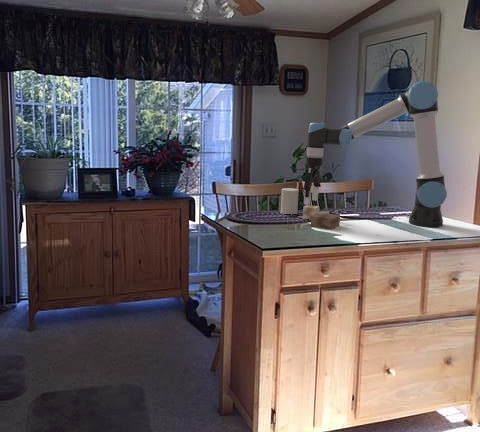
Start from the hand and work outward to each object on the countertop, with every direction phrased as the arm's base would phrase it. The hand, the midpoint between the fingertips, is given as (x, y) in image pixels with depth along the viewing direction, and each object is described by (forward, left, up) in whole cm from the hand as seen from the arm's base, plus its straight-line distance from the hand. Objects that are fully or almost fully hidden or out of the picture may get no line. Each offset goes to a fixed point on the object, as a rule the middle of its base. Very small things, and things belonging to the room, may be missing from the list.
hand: (310, 202), depth 250 cm
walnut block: (-10, +12, -8) cm, 18 cm away
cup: (+13, -7, -8) cm, 17 cm away
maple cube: (0, 0, -8) cm, 8 cm away
